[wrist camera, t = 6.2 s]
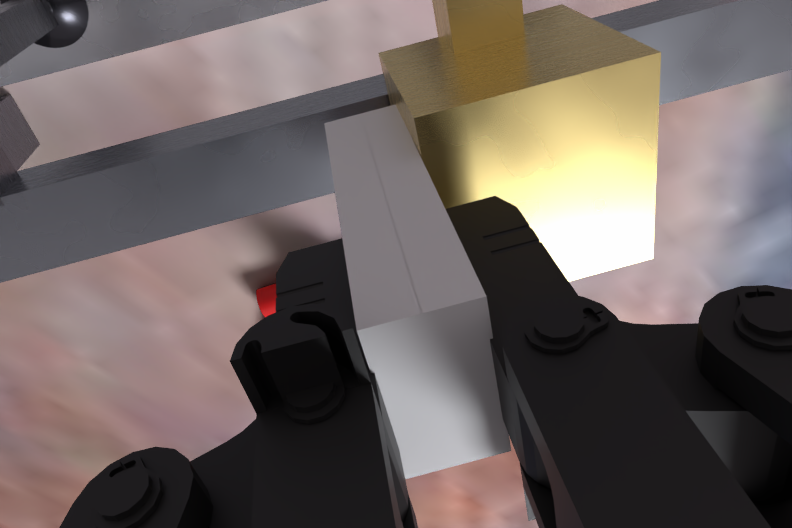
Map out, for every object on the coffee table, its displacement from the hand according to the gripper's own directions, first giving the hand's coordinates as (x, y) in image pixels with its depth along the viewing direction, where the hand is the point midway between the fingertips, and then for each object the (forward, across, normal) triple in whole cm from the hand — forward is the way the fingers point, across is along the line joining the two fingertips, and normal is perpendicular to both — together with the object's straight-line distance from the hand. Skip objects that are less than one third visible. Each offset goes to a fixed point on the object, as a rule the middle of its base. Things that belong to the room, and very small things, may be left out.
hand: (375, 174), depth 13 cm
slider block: (+11, +3, +1) cm, 11 cm away
